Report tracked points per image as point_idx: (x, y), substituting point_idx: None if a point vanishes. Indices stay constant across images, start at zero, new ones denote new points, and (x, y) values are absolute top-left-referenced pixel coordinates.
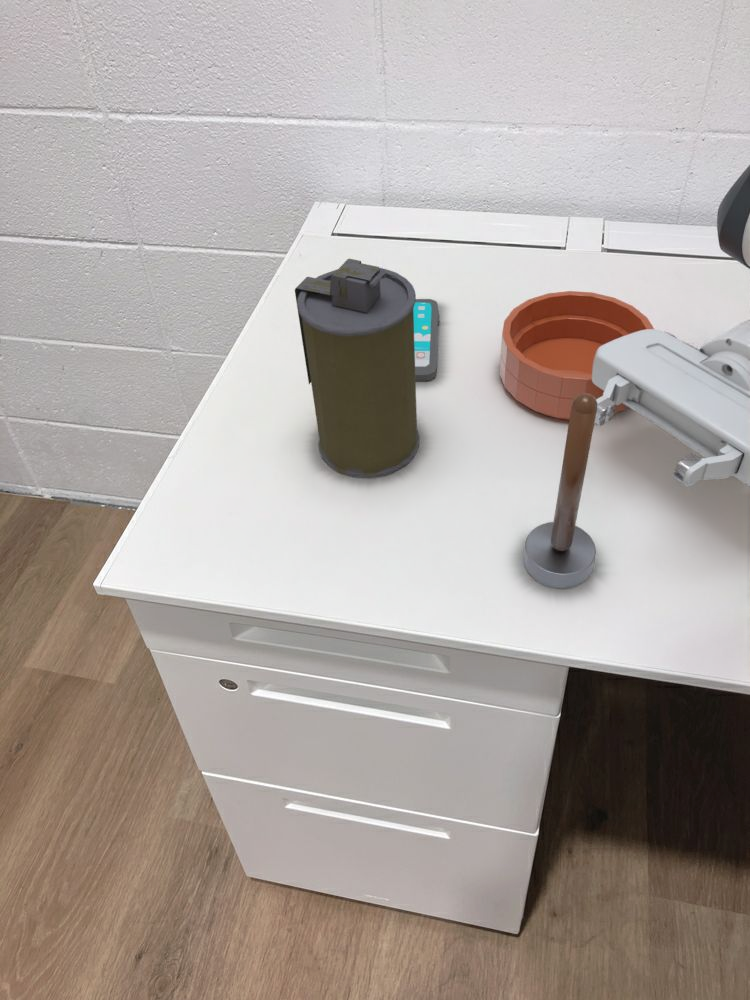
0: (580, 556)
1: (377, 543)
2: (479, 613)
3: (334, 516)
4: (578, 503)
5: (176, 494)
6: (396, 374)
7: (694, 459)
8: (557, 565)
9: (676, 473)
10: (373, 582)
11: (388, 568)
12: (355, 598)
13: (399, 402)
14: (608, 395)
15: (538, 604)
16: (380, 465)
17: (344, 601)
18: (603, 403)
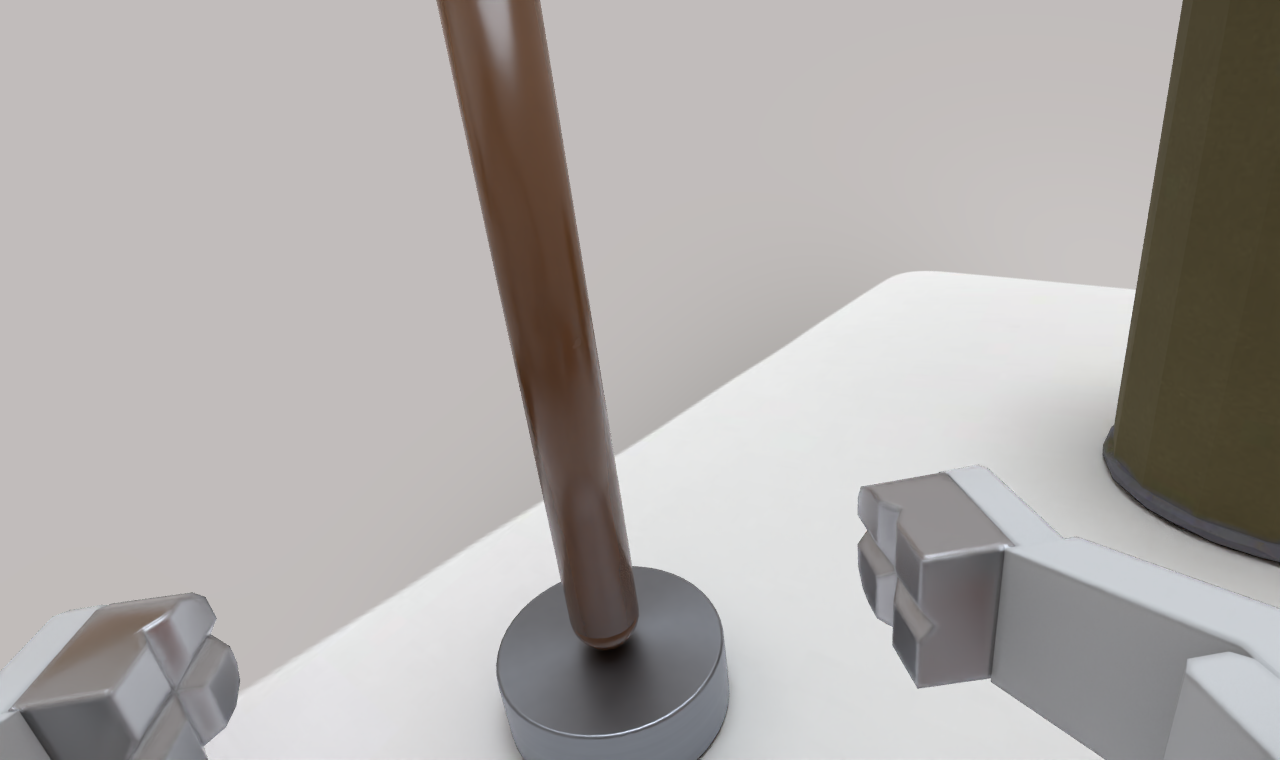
0: (542, 669)
1: (869, 437)
2: None
3: (973, 405)
4: (532, 445)
5: (1078, 295)
6: (1228, 150)
7: (73, 676)
8: (559, 604)
9: (207, 642)
10: (772, 419)
11: (795, 438)
12: (751, 400)
13: (1209, 273)
14: (1049, 556)
15: None
16: (1122, 443)
17: (753, 392)
18: (944, 499)
